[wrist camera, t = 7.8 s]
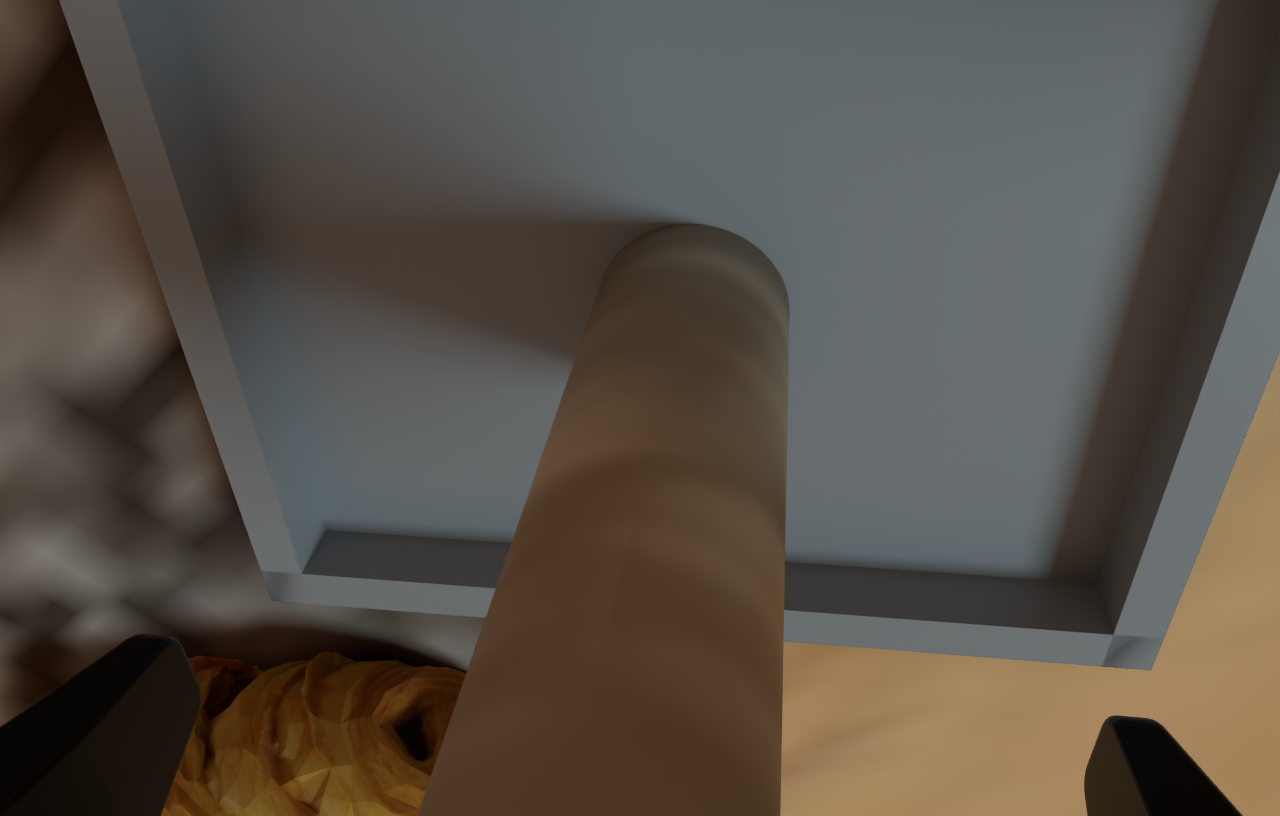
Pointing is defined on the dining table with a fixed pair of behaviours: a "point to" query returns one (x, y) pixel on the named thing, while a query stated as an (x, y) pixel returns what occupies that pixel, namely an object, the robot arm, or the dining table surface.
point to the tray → (765, 216)
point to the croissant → (313, 738)
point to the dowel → (644, 561)
